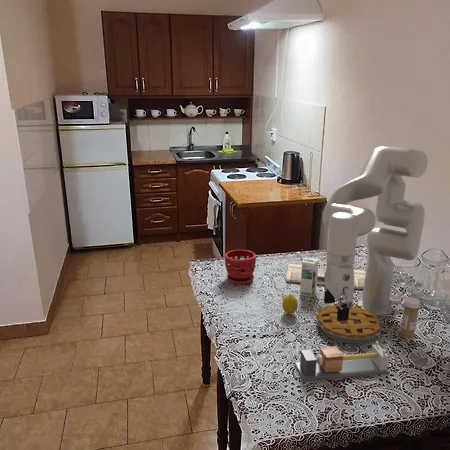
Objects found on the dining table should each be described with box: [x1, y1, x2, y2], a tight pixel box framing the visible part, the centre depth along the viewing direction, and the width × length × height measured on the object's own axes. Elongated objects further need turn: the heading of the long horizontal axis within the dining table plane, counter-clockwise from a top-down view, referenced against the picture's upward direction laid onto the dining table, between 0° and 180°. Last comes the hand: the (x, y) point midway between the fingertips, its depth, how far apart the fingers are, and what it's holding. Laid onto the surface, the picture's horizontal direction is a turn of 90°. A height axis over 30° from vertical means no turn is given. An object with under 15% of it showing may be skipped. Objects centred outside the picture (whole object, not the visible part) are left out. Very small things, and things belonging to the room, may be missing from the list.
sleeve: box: [319, 345, 344, 372], centre depth 125 cm, size 5×5×5 cm
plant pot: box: [224, 249, 257, 285], centre depth 182 cm, size 13×13×12 cm
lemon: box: [281, 294, 299, 315], centre depth 156 cm, size 6×6×8 cm
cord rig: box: [294, 340, 391, 383], centre depth 126 cm, size 26×8×7 cm, turn 98°
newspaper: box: [285, 263, 366, 290], centre depth 187 cm, size 37×19×3 cm, turn 78°
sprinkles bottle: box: [399, 296, 421, 340], centre depth 142 cm, size 5×5×13 cm
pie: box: [315, 303, 383, 345], centre depth 147 cm, size 22×22×5 cm
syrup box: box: [299, 256, 320, 298], centre depth 170 cm, size 6×6×14 cm
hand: (335, 311), depth 124 cm, fingers open, 9 cm apart
